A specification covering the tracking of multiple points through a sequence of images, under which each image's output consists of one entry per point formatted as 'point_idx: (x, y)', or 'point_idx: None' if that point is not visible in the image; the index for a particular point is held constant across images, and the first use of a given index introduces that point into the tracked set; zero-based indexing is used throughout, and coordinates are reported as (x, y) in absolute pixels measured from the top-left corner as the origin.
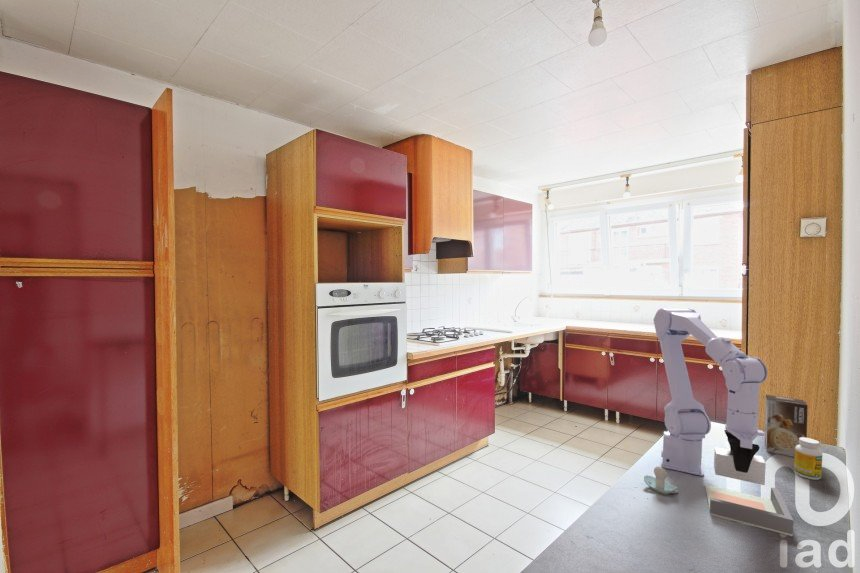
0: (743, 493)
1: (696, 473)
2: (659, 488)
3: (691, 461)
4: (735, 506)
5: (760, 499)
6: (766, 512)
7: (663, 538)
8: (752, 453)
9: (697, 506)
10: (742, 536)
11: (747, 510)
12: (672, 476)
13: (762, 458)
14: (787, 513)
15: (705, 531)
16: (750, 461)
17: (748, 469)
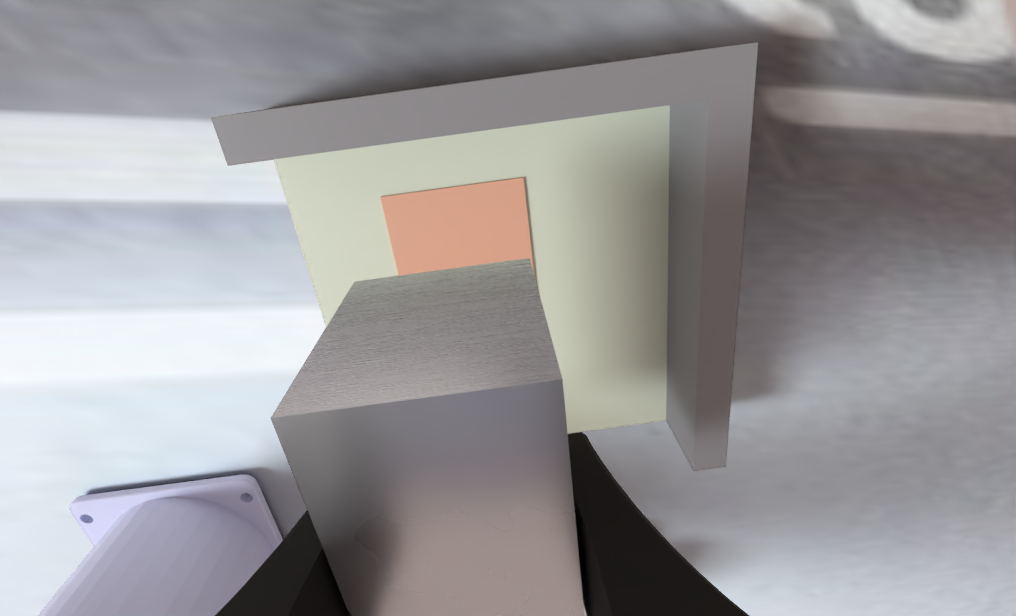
0: (319, 295)
1: (263, 506)
2: None
3: (231, 583)
4: (730, 363)
5: (326, 208)
6: (727, 209)
7: (973, 515)
8: None
9: (636, 457)
10: (831, 285)
11: (734, 304)
12: None
13: (377, 414)
14: (664, 75)
15: (857, 413)
16: (656, 530)
17: (592, 451)
